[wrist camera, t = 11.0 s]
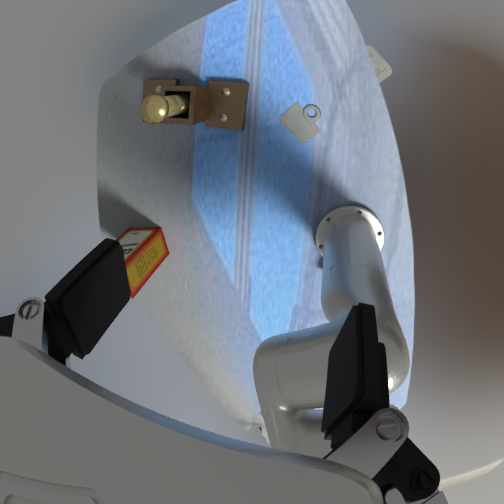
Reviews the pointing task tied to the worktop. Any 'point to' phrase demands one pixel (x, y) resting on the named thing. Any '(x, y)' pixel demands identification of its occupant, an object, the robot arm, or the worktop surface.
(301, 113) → the mounting bracket
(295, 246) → the worktop surface
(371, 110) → the worktop surface
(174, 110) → the pin
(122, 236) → the baking soda box
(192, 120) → the hinge base
